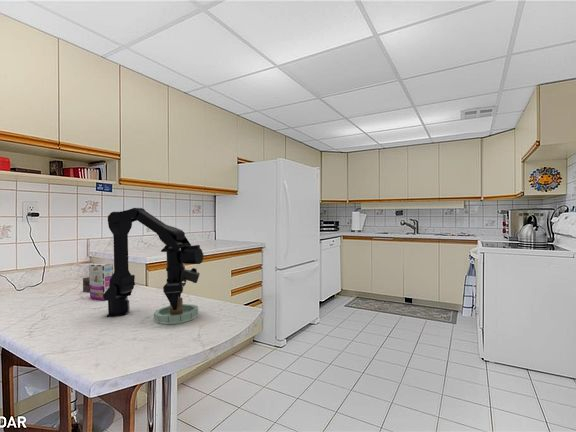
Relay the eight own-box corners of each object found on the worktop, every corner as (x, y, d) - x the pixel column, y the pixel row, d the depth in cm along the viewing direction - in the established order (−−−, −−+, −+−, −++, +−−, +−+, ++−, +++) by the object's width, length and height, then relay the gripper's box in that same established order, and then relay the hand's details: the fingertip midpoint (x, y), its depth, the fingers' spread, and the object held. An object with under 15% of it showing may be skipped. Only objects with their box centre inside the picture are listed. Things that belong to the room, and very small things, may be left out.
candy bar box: (114, 298, 149) (113, 263, 149) (104, 301, 145) (102, 265, 145) (99, 296, 155) (98, 262, 155) (89, 299, 150) (88, 264, 150)
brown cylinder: (169, 317, 114) (169, 301, 114) (171, 314, 118) (170, 298, 118) (182, 316, 115) (181, 299, 115) (183, 312, 119) (182, 297, 119)
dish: (151, 326, 108) (150, 318, 108) (158, 313, 122) (158, 306, 122) (197, 321, 111) (196, 313, 111) (198, 309, 126) (198, 302, 126)
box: (82, 292, 166) (82, 278, 166) (92, 289, 171) (92, 276, 171) (91, 292, 164) (91, 278, 164) (101, 290, 170) (101, 276, 170)
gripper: (196, 265, 110) (198, 311, 110) (198, 259, 128) (200, 298, 128) (162, 268, 107) (163, 314, 107) (169, 261, 125) (170, 300, 125)
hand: (176, 306), depth 117 cm, fingers open, 9 cm apart
